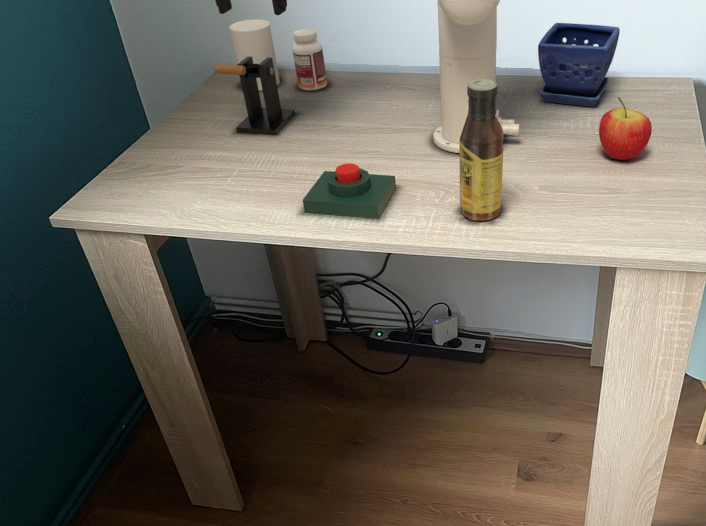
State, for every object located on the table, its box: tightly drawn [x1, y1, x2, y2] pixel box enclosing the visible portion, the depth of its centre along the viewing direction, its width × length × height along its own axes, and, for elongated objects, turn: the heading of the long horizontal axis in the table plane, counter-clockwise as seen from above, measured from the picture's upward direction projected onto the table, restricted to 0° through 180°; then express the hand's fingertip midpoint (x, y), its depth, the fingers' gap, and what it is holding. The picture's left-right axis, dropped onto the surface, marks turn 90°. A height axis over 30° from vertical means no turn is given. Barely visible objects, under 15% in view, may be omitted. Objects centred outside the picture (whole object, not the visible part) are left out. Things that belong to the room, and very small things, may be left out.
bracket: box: [235, 56, 297, 136], centre depth 136 cm, size 10×8×12 cm
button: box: [335, 162, 360, 183], centre depth 112 cm, size 4×4×2 cm
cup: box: [229, 19, 281, 92], centre depth 153 cm, size 8×8×12 cm
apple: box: [598, 96, 653, 161], centre depth 120 cm, size 8×8×10 cm
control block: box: [302, 167, 397, 219], centre depth 114 cm, size 12×10×4 cm
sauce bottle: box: [459, 79, 504, 222], centre depth 104 cm, size 6×6×20 cm
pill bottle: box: [291, 28, 328, 92], centre depth 151 cm, size 6×6×11 cm
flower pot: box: [537, 22, 621, 107], centre depth 141 cm, size 13×13×12 cm
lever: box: [214, 63, 260, 78], centre depth 129 cm, size 12×5×2 cm, turn 167°
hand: (253, 12), depth 117 cm, fingers open, 9 cm apart
